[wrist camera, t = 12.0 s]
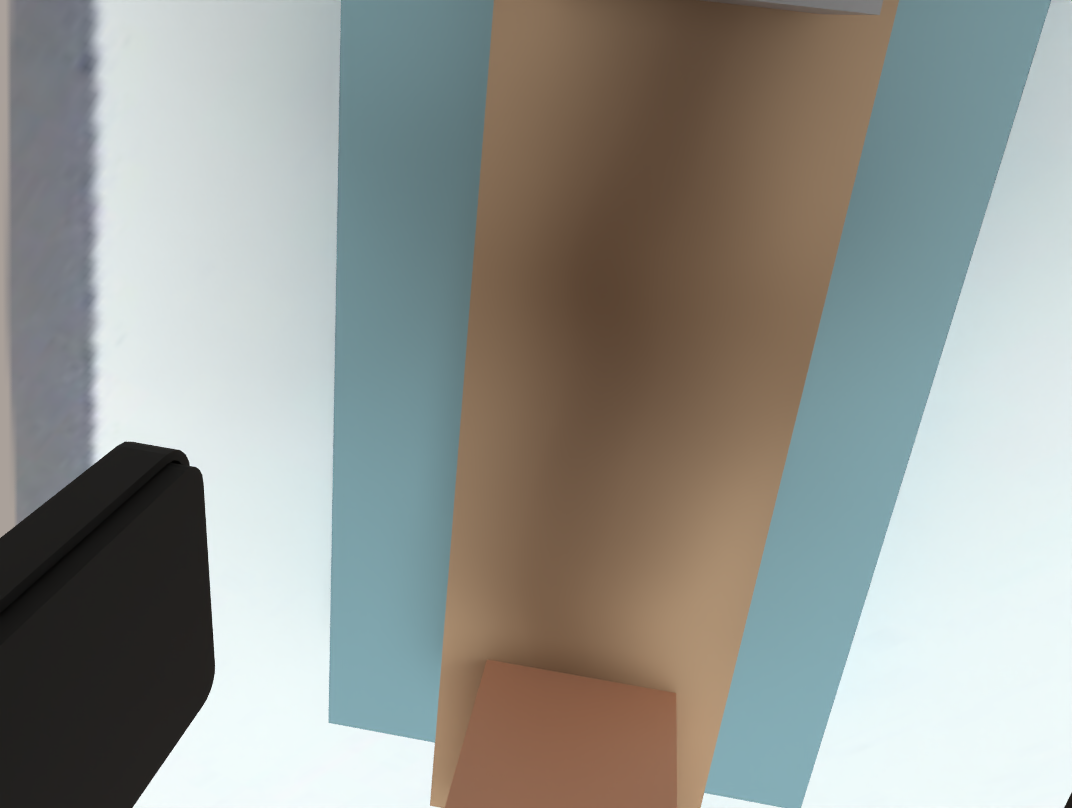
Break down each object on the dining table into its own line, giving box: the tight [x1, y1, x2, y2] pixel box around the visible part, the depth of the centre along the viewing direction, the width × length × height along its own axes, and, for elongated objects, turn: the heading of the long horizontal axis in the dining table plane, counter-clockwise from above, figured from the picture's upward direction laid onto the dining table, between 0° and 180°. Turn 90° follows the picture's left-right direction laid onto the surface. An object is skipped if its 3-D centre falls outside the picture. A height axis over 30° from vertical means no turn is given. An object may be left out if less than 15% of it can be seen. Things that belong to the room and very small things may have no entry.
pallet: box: [430, 0, 899, 808], centre depth 19 cm, size 6×22×5 cm, turn 174°
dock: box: [329, 0, 1051, 808], centre depth 23 cm, size 14×28×4 cm, turn 174°
